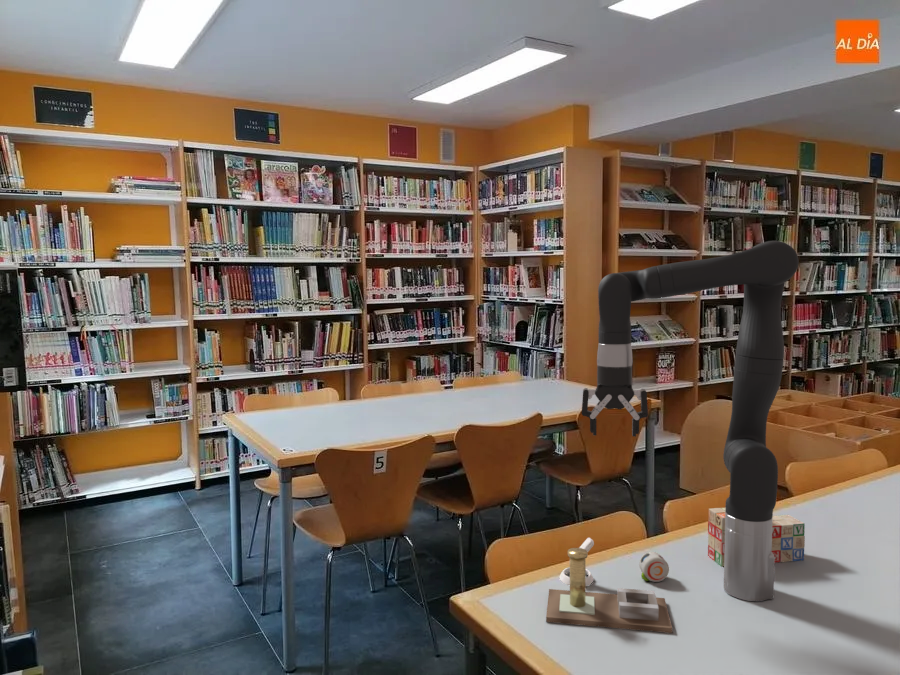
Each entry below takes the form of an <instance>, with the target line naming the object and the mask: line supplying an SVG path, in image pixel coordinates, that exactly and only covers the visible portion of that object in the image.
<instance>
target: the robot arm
mask: <svg viewBox="0 0 900 675" xmlns="http://www.w3.org/2000/svg"><path fill="white" fill-rule="evenodd" d="M799 261H800V260H799V256H798V254H797V251H796V250H795V248H793V247H792V246H791V245H790V244H788V243H786V242H783V241H779V240H768V241H767V240H766V241H763V242H760V243H758V244H756V245H754V246H752V247H751V248H748V249H745V250H742V251H740V252H736V253H731V254H728V255H722V256H717V257H711V258H705V259H704V258H702V259H697V260H696V259H695V260H687V261H685V260H684V261H678V262H672V263H666V264H659V265H654V266H651V267H650V266H649V267H647V268H644V269H639V270H631V271H630V270H629V271H623V272H612V273H609V274H607V275H605V276H604V277H602V279H601V280H600V282H599V284H598V288H597V289H598V290H597V292H598V293H597V294H598V295H597V296H598V314H599V322H598V347H597V353H596V354H597V357H596V365H597V368H596V370H597V371H596V384H597V385H596V388H595V389H589V388H588V387H587V388H586V387H584V388H583V389H582V401H581V402H582V403H581V415H582V417H587V418H588V419H589V431H590V433H591V434H592V436H597V417H598V415H599V414H600V413H601V411H602V410H603V409H607V410H613V409H615V410H623V409H626V410H627V412H628V413H629V414H630V415H631V417H632V419H631V435H632V437H634V438H635V437H637V435H639V433H640V421H641V420H642V419H644V418H647V417H649V416H648V415H649V412H648V411H649V410H648V408H649V406H648V392H647V390H646V389H645V388H642V389H640V390H639V389H638V390H634V389H633V363H634V362H633V360H634V359H633V349H632V323H631V311H632V310H631V305H632V302H636V301H643V300H647V299H649V300H650V299H651V300H652V299H653V300H654V299H663V298H670V297H675V296H676V297H678V296H682V295H686V294H688V295H689V294H692V293H697V292H700V291H705V290H710V289H715V288H716V289H717V288H722V287H729V286H738V285H740V286H741V285H743V310H742V314H741V320H740V323H739V324H740V325H739V329H738V335H737V336H738V337H737V343H736V349H735V358H734V368H733V380H732V382H733V383H732V398H731V399H732V400H731V415H730V422H729V425H728V426H729V427H728V431H727V435H726V439H725V444H724V448H723V453H722V456H723V463H724V465H725V468H726V469H727V471H728V472H729V473H730V474H729V476H730V479H729V480H730V481H729V483H730V484H729V496H728V497H726V499H725V507H724V508H725V553H724V567H723V589H724V591H725V592H726V593H727V594H728V595H730V596H732V597H734V598H737V599H739V600H744V601H747V602H762V601H766V600H774V596H775V595H774V594H775V592H774V590H775V563H774V560H775V557H774V554H773V553H772V519H773V518H772V517H773V516H774V514H773V513H774V509H775V508H776V504H777V496H778V494H777V493H778V479H779V466H778V461H777V460H778V459H777V458H776V456H775V454H774V453H773V451H771V450H770V449H769V448H768V447H767V423H768V417H769V413H770V410H771V407H772V405H773V402H774V401H775V398H776V396H777V394H778V391H779V388H780V385H781V383H782V381H781V380H782V376H783V369H784V368H783V367H784V358H785V343H784V342H785V339H784V332H783V331H784V329H783V324H782V317H781V316H782V313H781V312H782V311H781V310H782V309H781V308H782V307H781V306H782V301H783V300H782V299H783V294H784V288H785V285H786V283H787V281H789V280H790V279H791V278H792V277H793V276H794V275H795V273H796V272H797V270H798V267H799V264H800V262H799ZM594 395H595V397H596V398H597V399H598V402H597V403H596V404H595V406H594V407H593V409H592V410H589V409H588V408H589V407H588V406H589V400H591V399H592V398H593V396H594ZM634 397H636V398H637V400H638V401H640V410H641V411H638V412H637V410H636V409H635V408H634V406H633V405H632V403H631V401H632V399H633V398H634Z"/></svg>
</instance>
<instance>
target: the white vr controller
mask: <svg viewBox="0 0 900 675" xmlns="http://www.w3.org/2000/svg"><path fill="white" fill-rule="evenodd" d="M594 545H595V542H594V539H592V538H591V537H587V538H586V539H585V540H584V541H583V542H582V544H581V545H580V546H579V548H582V549H585V550H586V551H587V552H588V553H589V551H590V550H591V549H592V548H593V547H594ZM569 572H570V566H569V567H566V568H564V569H563V570H562V571H561V573H560V575H559V578H560V579H559V581H560V580H561V581H562V582H563V583H565V584H567V585H566V586H568V585H570V576H568V575H567V574H570V573H569ZM566 573H567V574H566ZM587 575H588V576H587ZM593 579H594V576H593V575H592V573H591V571H590V570H589V569H587V568H586V587H588V586H587V585H589V586H591V585H592V584H593V583H594V582H593ZM561 581H560V582H561ZM562 582H561V583H562ZM592 582H593V583H592ZM563 583H562V584H563ZM591 583H592V584H591ZM565 584H564V585H565ZM590 584H591V585H590Z"/></svg>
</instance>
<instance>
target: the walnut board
mask: <svg viewBox="0 0 900 675" xmlns="http://www.w3.org/2000/svg"><path fill="white" fill-rule="evenodd" d="M560 594H566V595H570V590H568V589H567V590H565V589H553V588H549V589H548V595H547V596H548V597H547V606H546V613H545V614H546V616H545V622H547V623H554V624H566V625H567V624H568V625H576V626H577V625H579V626H588V627H598V626H599V628H610V627H611V629H622V630H623V629H624V630H632V631H633V630H634V631H645V632H656V633H657V632H658V633H668V634H673V626H672V622H671V618H670V614H669V610H668V606H667V603H666V602H667V601H666V598H665V597H657V596H656V592H655V590H647V589H635V588H634V589H631V588H623V587H622V588H621V587H620V588H619V587H617V593H616V594H615V593H614V594H613V593H607V592H606V593H603V592H591V591H586V596H591V597H594V608H595V615H590V614H578V613H567V612H559V607H560Z"/></svg>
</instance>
